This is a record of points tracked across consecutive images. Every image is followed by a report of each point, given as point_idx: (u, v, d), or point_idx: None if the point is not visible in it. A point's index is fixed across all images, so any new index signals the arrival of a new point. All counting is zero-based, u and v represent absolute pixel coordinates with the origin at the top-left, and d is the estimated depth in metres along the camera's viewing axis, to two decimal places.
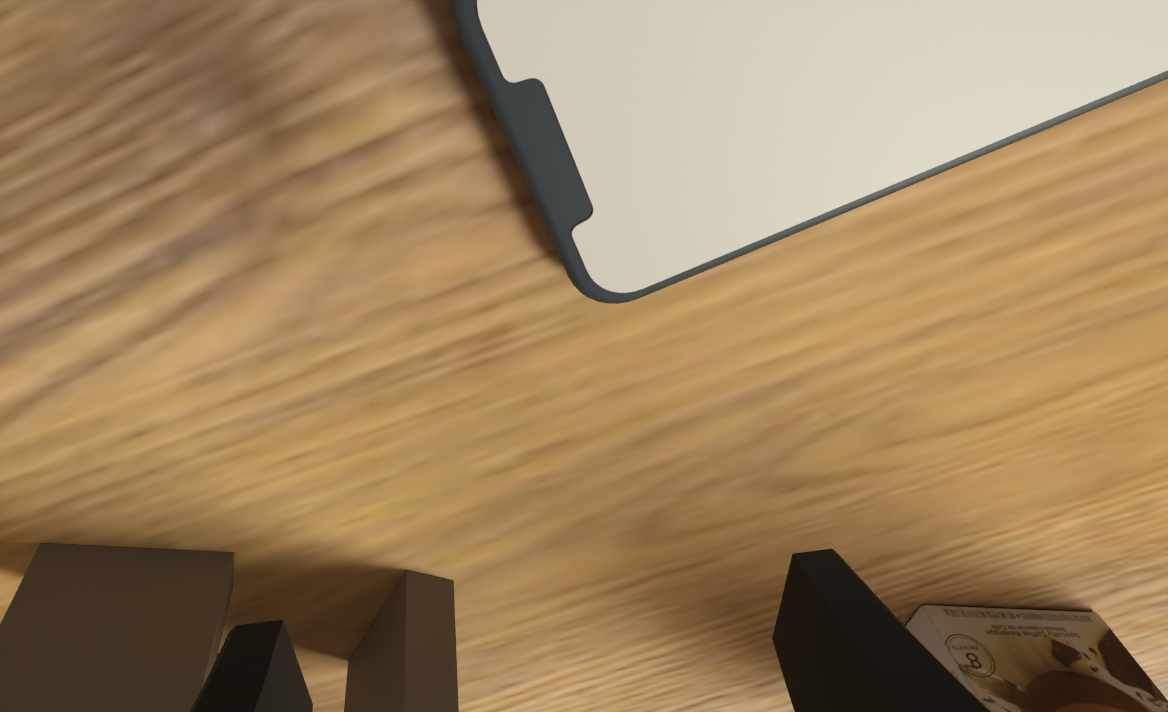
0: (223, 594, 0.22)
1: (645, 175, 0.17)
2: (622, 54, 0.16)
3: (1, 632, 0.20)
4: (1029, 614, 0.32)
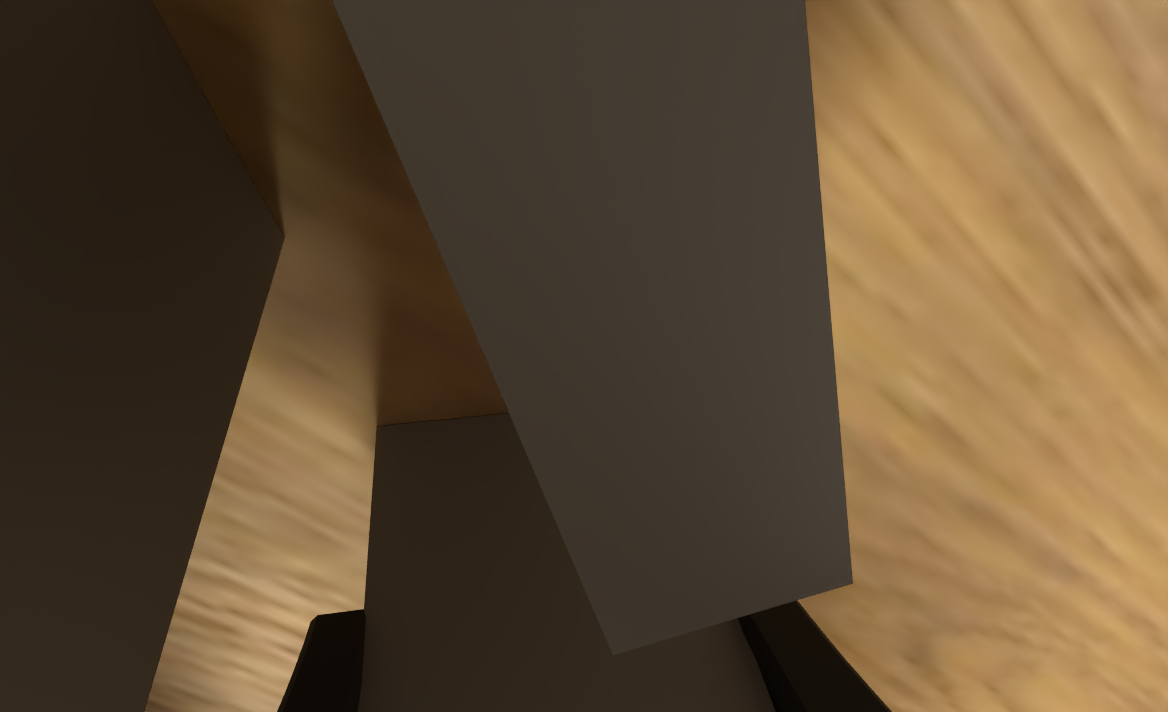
0: None
1: None
2: None
3: None
4: None
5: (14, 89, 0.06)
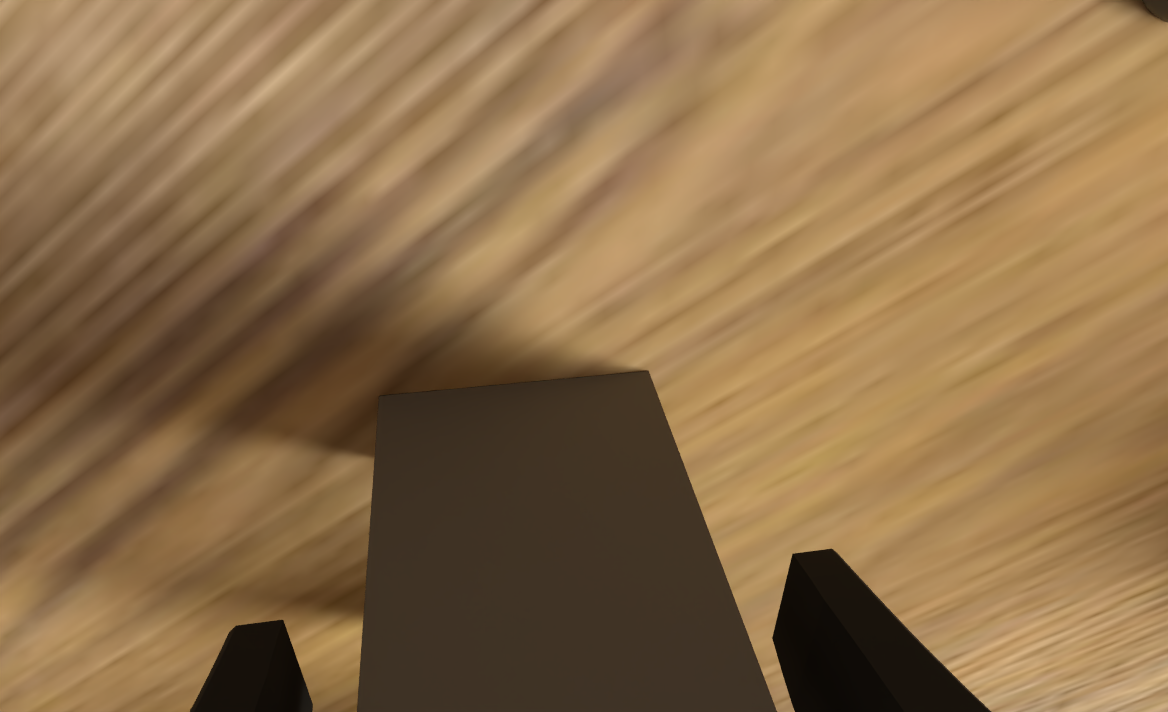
0: None
1: None
2: None
3: None
4: None
5: None
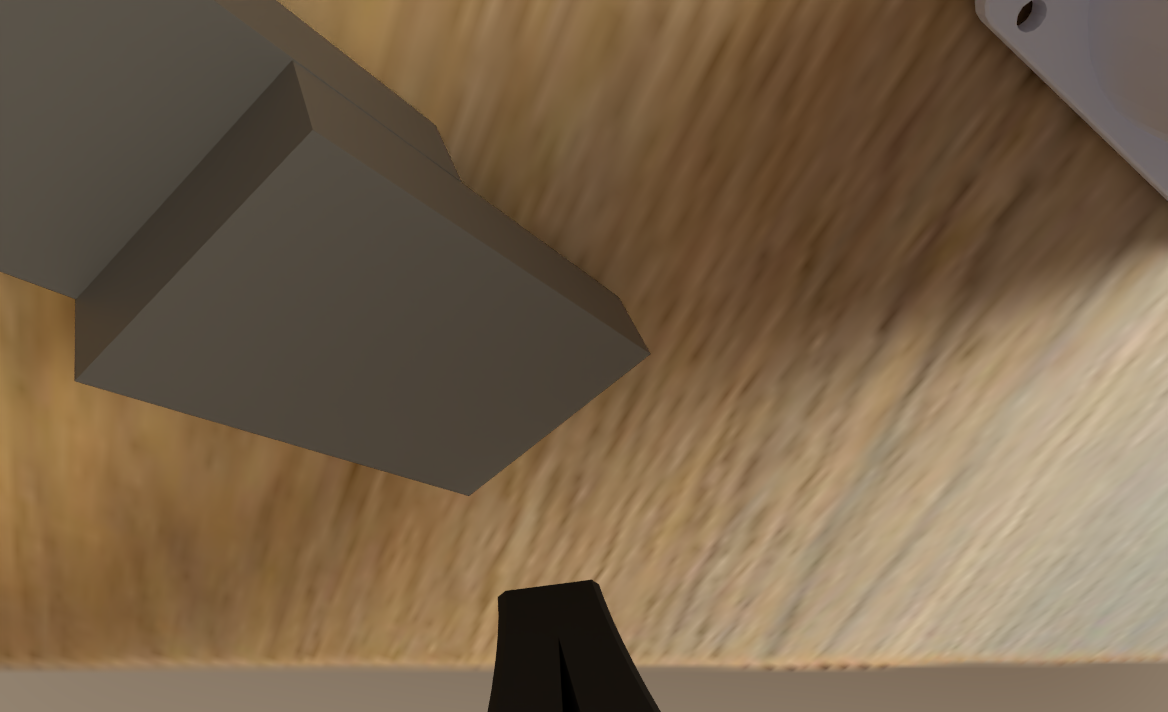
0: None
1: None
2: None
3: None
4: None
5: None
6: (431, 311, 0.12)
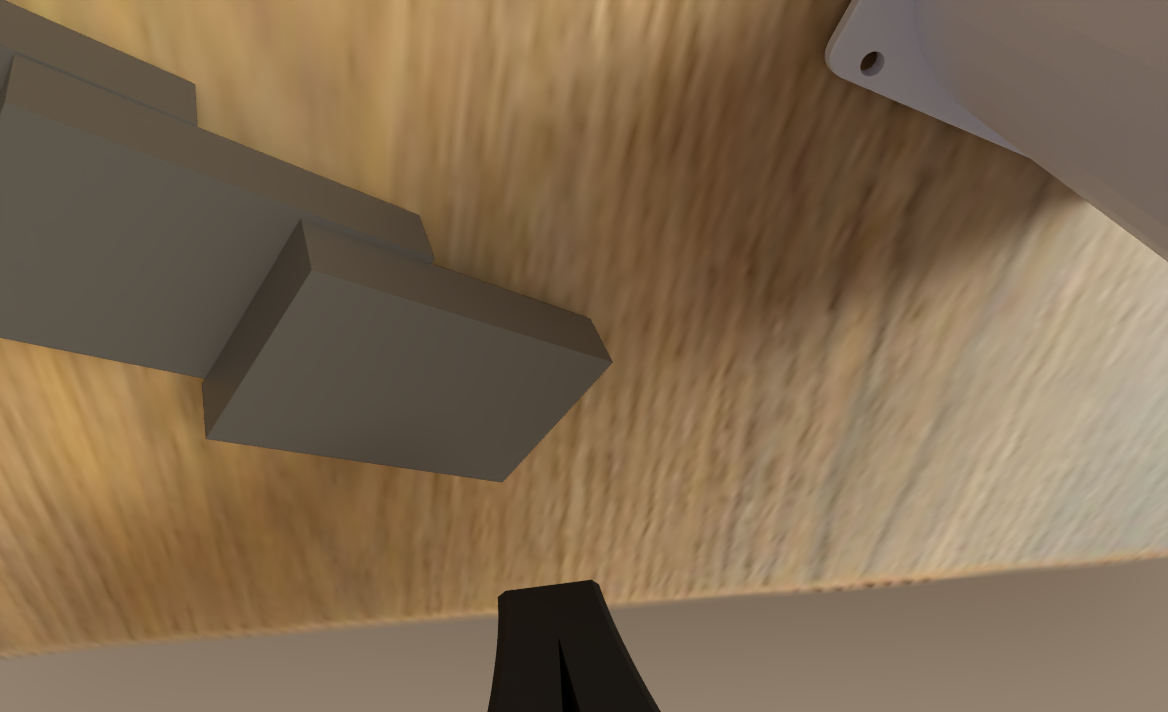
0: None
1: None
2: None
3: None
4: None
5: None
6: (427, 360, 0.18)
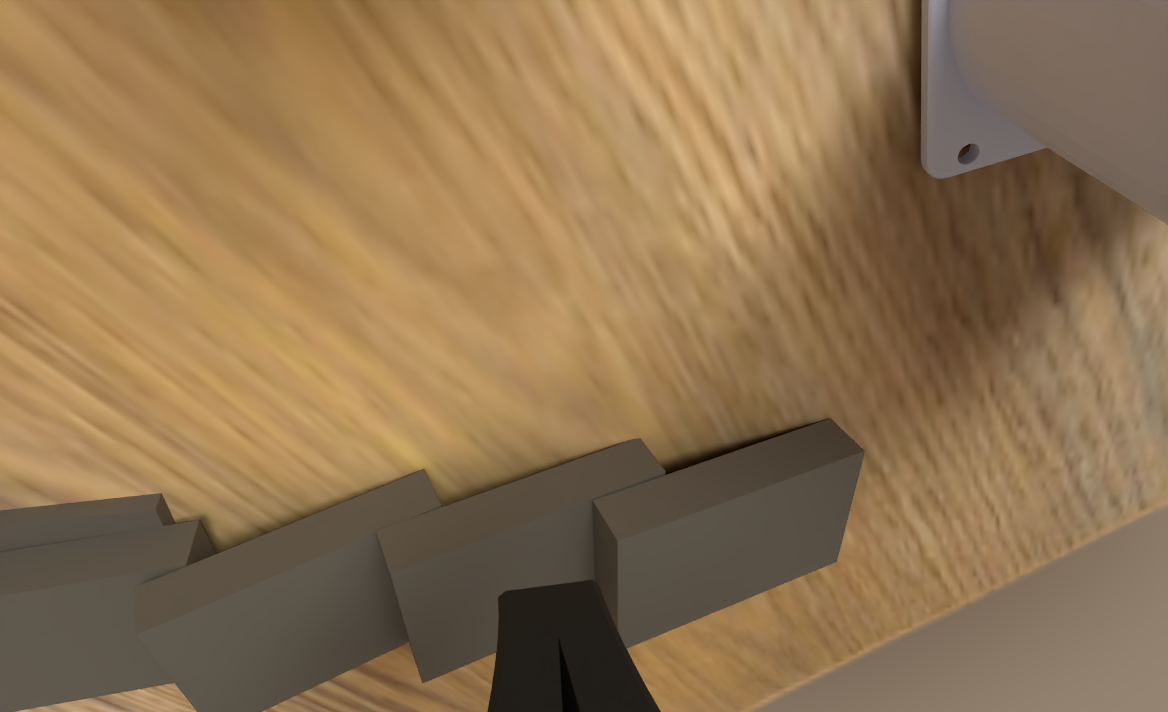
0: (144, 530, 0.23)
1: None
2: None
3: None
4: None
5: None
6: (724, 535, 0.23)
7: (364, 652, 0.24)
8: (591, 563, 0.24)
